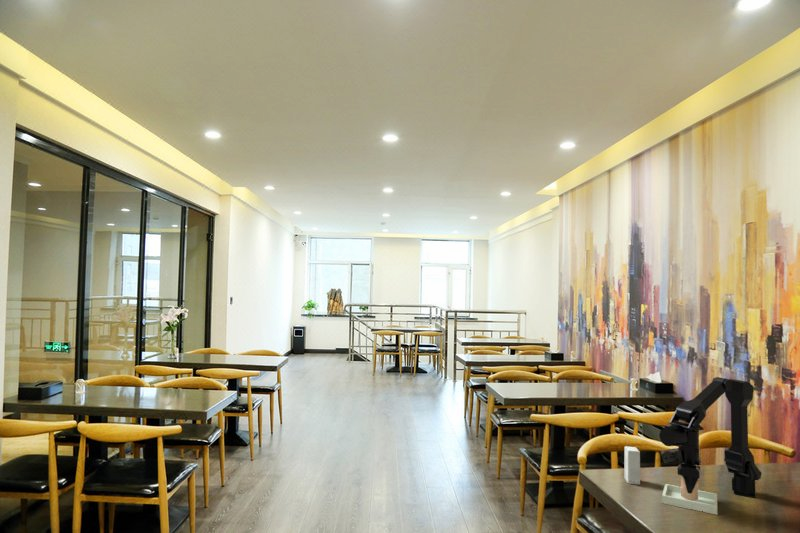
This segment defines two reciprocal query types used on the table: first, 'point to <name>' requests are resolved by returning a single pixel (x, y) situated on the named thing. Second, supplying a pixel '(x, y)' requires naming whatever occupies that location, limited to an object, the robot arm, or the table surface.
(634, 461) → the skincare box
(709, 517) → the table surface
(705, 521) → the table surface
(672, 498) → the tray
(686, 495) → the cup
